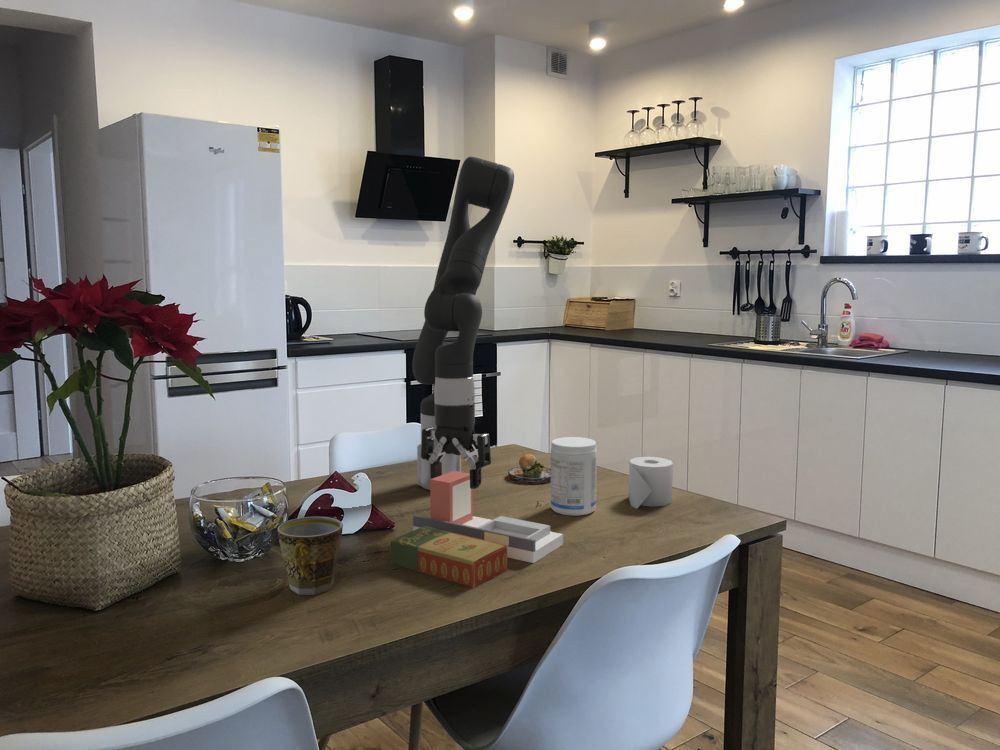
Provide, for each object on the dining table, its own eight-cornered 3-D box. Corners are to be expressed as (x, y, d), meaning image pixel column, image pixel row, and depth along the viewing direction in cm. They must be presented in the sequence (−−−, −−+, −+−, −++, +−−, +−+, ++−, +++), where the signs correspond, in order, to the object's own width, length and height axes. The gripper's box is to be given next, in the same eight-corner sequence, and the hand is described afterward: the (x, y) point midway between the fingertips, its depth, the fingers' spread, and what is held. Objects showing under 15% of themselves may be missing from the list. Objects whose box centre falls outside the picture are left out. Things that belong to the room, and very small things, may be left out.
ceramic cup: (290, 574, 133) (288, 515, 132) (350, 575, 133) (348, 516, 131) (264, 607, 120) (262, 542, 119) (331, 608, 120) (329, 543, 119)
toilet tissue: (632, 511, 168) (633, 471, 167) (627, 493, 181) (628, 456, 180) (676, 512, 167) (677, 472, 166) (667, 494, 181) (669, 457, 179)
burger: (558, 485, 188) (558, 454, 187) (507, 485, 188) (507, 453, 187) (555, 472, 200) (555, 443, 199) (507, 472, 200) (507, 442, 199)
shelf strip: (413, 536, 152) (412, 515, 151) (447, 520, 161) (447, 501, 161) (533, 563, 138) (533, 541, 138) (563, 544, 148) (563, 523, 147)
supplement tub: (573, 500, 175) (574, 434, 173) (605, 511, 168) (607, 442, 166) (540, 509, 169) (541, 440, 167) (572, 520, 162) (573, 448, 160)
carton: (473, 590, 128) (473, 561, 127) (388, 565, 138) (388, 538, 138) (508, 571, 135) (508, 543, 135) (425, 549, 146) (425, 523, 145)
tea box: (430, 525, 152) (429, 479, 151) (453, 515, 158) (453, 470, 157) (450, 530, 149) (450, 482, 148) (472, 519, 156) (472, 474, 154)
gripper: (411, 400, 151) (413, 484, 153) (476, 406, 144) (477, 494, 146) (435, 395, 157) (436, 476, 159) (497, 400, 150) (498, 485, 152)
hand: (455, 485), depth 153 cm, fingers open, 8 cm apart
